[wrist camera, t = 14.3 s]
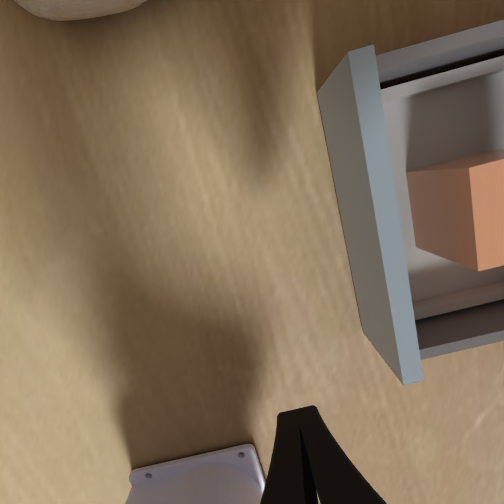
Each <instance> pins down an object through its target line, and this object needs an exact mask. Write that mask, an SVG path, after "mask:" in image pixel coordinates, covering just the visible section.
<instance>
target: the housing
mask: <svg viewBox="0 0 504 504" xmlns="http://www.w3.org/2000/svg"><path fill="white" fill-rule="evenodd" d="M500 54H504V19H503V20H500V21H496V22H492V23H489V24H485V25H482V26H478V27H475V28H471V29H468V30H464V31H461V32H457V33H454V34H450V35H446V36H443V37H439V38H436V39H432V40H429V41H425V42H422V43H418V44H415V45H411V46H407V47H404V48H400V49H397V50H393V51H390V52H386V53H383V54H379V55H376V62H377V69H378V75H379V82H380V88H381V87H385V86H389V85H392V84H396V83H399V82H403V81H407V80H410V79H414V78H417V77H421V76H425V75H428V74H432V73H435V72H439V71H443V70H446V69H450V68H454V67H457V66H461V65H464V64H468V63H472V62H475V61H479V60H482V59H486V58H490V57H493V56H497V55H500ZM415 325H416V332H417V338H418V345H419V352H420V358H421V360H422V359H426V358H431V357H435V356H439V355H443V354H448V353H452V352H456V351H461V350H465V349H469V348H474V347H478V346H482V345H486V344H491V343H495V342H499V341H504V299H502V300H498V301H493V302H489V303H485V304H481V305H477V306H473V307H468V308H464V309H460V310H456V311H452V312H447V313H443V314H439V315H435V316H431V317H427V318H422V319H418V320H415Z"/></svg>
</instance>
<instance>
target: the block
mask: <svg viewBox="0 0 504 504" xmlns="http://www.w3.org/2000/svg"><path fill="white" fill-rule="evenodd" d="M406 178H407V185H408V193H409V200H410V207H411V215H412V222H413V229H414V236H415V244H416V248H419V249H421V250H424V251H427V252H429V253H432V254H434V255H437V256H440V257H442V258H445V259H447V260H450V261H452V262H455V263H458V264H460V265H463V266H465V267H468V268H471V269H473V270H476V271H482V270H487V269H491V268H495V267H499V266H503V265H504V149H500V150H492V151H485V152H481V153H477V154H474V155H470V156H466V157H462V158H458V159H454V160H451V161H447V162H443V163H439V164H435V165H431V166H428V167H424V168H420V169H416V170H412V171H408V172H406Z"/></svg>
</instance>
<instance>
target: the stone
mask: <svg viewBox="0 0 504 504" xmlns="http://www.w3.org/2000/svg"><path fill="white" fill-rule="evenodd" d="M13 1H15V2H16V3H17V4H18V5H20V6H21V7H23V8H24V9H26V10H27V11H28V12H30V13H31V14H33V15H35V16H38V17H41V18H45V19H49V20H53V21H67V20H80V19H89V18H95V17H101V16H106V15H111V14H116V13H120V12H125V11H128V10H131V9H134V8H136V7H138V6H140V5H141V4H143V3H144V2H146V1H147V0H13Z"/></svg>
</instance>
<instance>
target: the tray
mask: <svg viewBox="0 0 504 504" xmlns="http://www.w3.org/2000/svg"><path fill="white" fill-rule="evenodd" d="M317 96H318V101H319V106H320V112H321V117H322V122H323V127H324V132H325V137H326V143H327V148H328V153H329V158H330V163H331V169H332V174H333V179H334V184H335V189H336V194H337V200H338V205H339V210H340V215H341V220H342V226H343V231H344V236H345V241H346V246H347V251H348V257H349V262H350V267H351V272H352V277H353V283H354V288H355V293H356V298H357V303H358V308H359V314H360V319H361V324H362V329H363V333H364V334H365V336H366V337H367V338H368V340H369V341H370V342H371V344H372V345H373V346H374V347H375V349H376V350H377V351H378V353H379V354H380V355H381V357H382V358H383V359H384V361H385V362H386V363H387V364H388V366H389V367H390V368H391V370H392V371H393V372H394V374H395V375H396V376H397V378H398V379H399V380H400V381H401V383H402V384H403V385H408V384H412V383H416V382H421V381H424V379H423V372H422V365H421V358H420V352H419V345H418V338H417V332H416V325H415V320H418V319H422V318H427V317H431V316H435V315H439V314H443V313H447V312H452V311H456V310H460V309H464V308H468V307H473V306H477V305H481V304H485V303H489V302H493V301H498V300H502V299H504V265H503V266H499V267H495V268H491V269H487V270H482V271H476V270H473V269H471V268H468V267H465V266H463V265H460V264H458V263H455V262H452V261H450V260H447V259H445V258H442V257H440V256H437V255H434V254H432V253H429V252H427V251H424V250H421V249H419V248H416V244H415V236H414V229H413V222H412V215H411V207H410V200H409V193H408V185H407V178H406V172H408V171H412V170H416V169H420V168H424V167H428V166H431V165H435V164H439V163H443V162H447V161H451V160H454V159H458V158H462V157H466V156H470V155H474V154H477V153H481V152H485V151H492V150H500V149H504V56H500V57H497V58H493V59H490V60H486V61H482V62H479V63H475V64H472V65H468V66H464V67H461V68H457V69H453V70H450V71H446V72H443V73H439V74H435V75H432V76H428V77H425V78H421V79H417V80H414V81H410V82H407V83H403V84H399V85H396V86H392V87H388V88H385V89H380V82H379V75H378V69H377V62H376V55H375V49H374V44H373V45H369V46H366V47H362V48H359V49H355V50H352V51H348V52H347V53H346V55H345V56H344V57H343V59H342V60H341V61H340V63H339V64H338V65H337V67H336V68H335V69H334V71H333V72H332V73H331V75H330V76H329V77H328V79H327V80H326V81H325V83H324V84H323V85H322V86H321V88H320V89H319V90H318V92H317Z"/></svg>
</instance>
